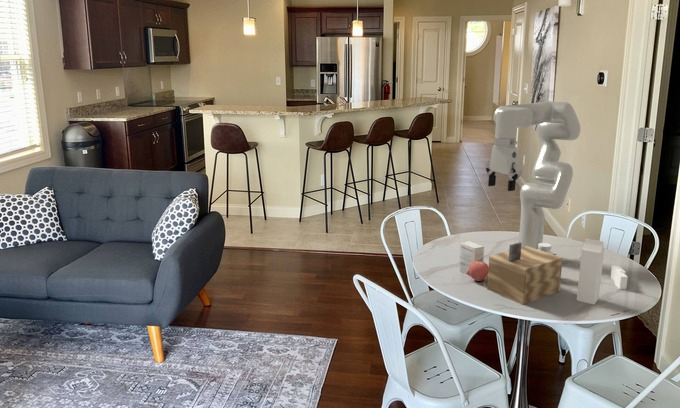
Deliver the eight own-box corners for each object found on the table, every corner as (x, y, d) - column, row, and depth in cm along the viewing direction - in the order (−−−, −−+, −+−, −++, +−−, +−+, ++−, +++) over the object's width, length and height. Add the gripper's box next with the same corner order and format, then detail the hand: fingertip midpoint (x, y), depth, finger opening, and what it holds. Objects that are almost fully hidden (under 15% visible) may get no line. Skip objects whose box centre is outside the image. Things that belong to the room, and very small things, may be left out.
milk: (580, 295, 203) (587, 236, 198) (598, 299, 200) (605, 239, 194) (576, 300, 199) (582, 240, 193) (594, 305, 195) (601, 243, 190)
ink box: (483, 275, 222) (485, 246, 219) (474, 277, 219) (475, 248, 216) (467, 268, 229) (469, 240, 226) (458, 270, 226) (459, 242, 223)
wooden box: (523, 277, 219) (525, 248, 216) (559, 291, 206) (562, 260, 203) (487, 289, 209) (489, 258, 206) (522, 304, 196) (525, 271, 193)
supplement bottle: (542, 280, 216) (545, 248, 213) (529, 274, 222) (531, 243, 219) (554, 277, 219) (557, 245, 216) (541, 271, 225) (544, 240, 222)
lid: (525, 247, 216) (527, 230, 214) (562, 259, 203) (564, 241, 201) (489, 258, 206) (490, 240, 204) (525, 271, 193) (526, 252, 191)
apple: (467, 282, 214) (468, 262, 212) (469, 275, 221) (470, 256, 219) (487, 284, 212) (488, 264, 210) (488, 277, 219) (489, 257, 217)
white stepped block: (607, 275, 222) (609, 261, 221) (639, 282, 215) (641, 268, 213) (594, 286, 211) (595, 272, 210) (626, 295, 204) (628, 280, 203)
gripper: (530, 144, 204) (526, 191, 208) (494, 139, 218) (491, 183, 222) (516, 146, 200) (511, 193, 204) (480, 140, 215) (477, 185, 219)
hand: (501, 188), depth 213 cm, fingers open, 9 cm apart
